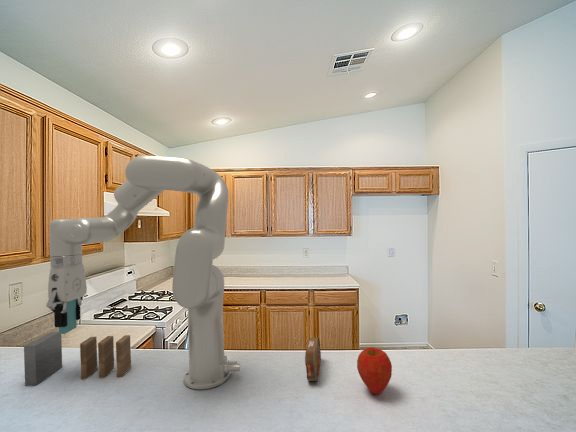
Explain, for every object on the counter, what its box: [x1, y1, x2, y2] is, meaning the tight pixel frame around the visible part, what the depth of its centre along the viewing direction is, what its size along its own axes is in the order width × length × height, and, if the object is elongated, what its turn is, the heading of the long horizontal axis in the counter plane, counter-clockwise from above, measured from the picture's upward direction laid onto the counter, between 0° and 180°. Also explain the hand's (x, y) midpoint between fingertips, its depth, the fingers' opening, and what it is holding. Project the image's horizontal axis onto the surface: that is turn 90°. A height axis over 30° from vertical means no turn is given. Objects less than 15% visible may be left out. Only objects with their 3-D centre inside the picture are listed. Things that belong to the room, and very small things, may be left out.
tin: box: [304, 336, 322, 382], centre depth 85 cm, size 15×3×8 cm, turn 168°
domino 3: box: [97, 335, 115, 379], centre depth 88 cm, size 2×5×10 cm, turn 2°
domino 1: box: [58, 299, 78, 335], centre depth 88 cm, size 2×5×10 cm, turn 2°
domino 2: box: [79, 336, 98, 380], centre depth 88 cm, size 2×5×10 cm, turn 2°
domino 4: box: [115, 334, 132, 378], centre depth 88 cm, size 2×5×10 cm, turn 2°
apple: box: [356, 347, 393, 395], centre depth 75 cm, size 9×8×11 cm
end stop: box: [23, 331, 63, 387], centre depth 88 cm, size 3×10×11 cm, turn 2°
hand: (68, 322), depth 88 cm, fingers closed on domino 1, 4 cm apart
